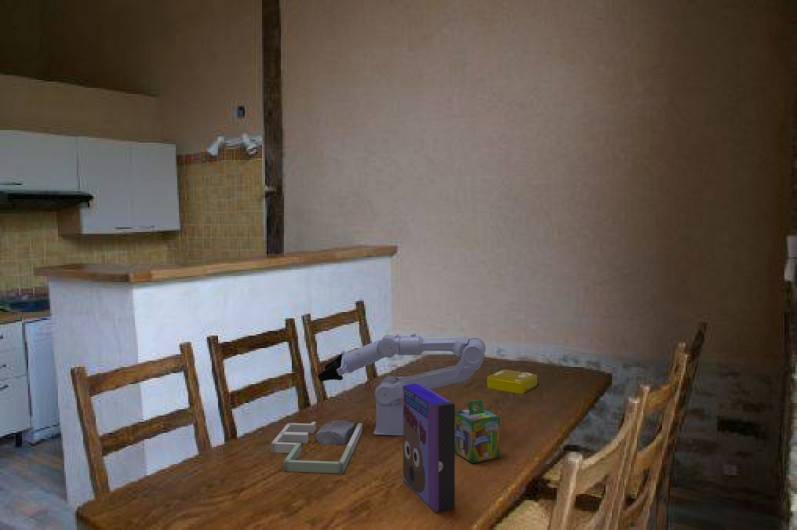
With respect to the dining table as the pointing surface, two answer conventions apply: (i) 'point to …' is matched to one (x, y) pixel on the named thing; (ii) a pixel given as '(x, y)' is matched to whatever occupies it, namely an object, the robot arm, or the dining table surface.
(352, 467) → the dining table surface
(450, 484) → the cereal box
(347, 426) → the stone block
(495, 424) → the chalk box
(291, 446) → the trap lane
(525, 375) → the element tile
